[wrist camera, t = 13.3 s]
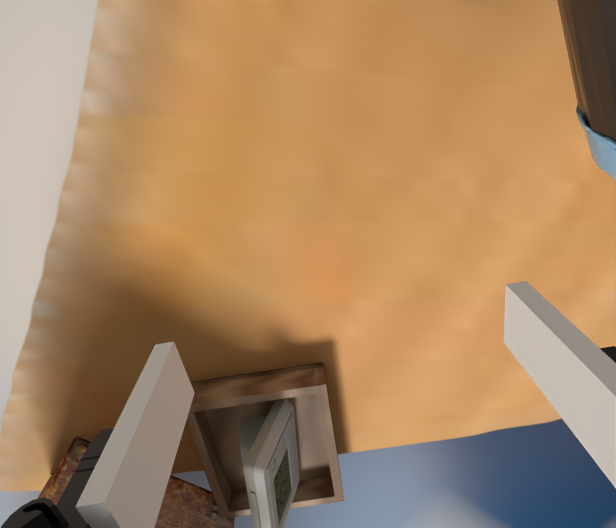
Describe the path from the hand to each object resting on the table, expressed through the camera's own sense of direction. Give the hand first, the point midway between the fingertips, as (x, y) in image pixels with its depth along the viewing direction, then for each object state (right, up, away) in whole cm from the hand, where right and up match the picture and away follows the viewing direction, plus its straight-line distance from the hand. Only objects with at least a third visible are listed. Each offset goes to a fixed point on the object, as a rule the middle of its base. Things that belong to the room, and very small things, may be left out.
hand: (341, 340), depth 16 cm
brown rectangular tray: (-7, -20, +40) cm, 45 cm away
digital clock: (-6, -21, +40) cm, 45 cm away
